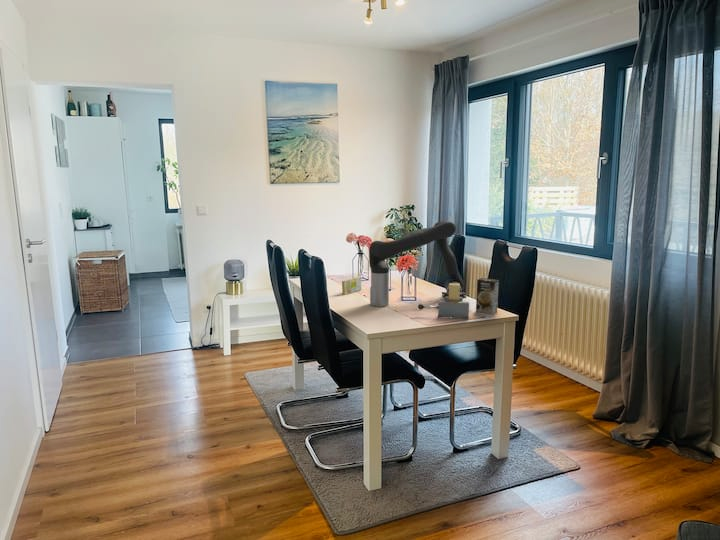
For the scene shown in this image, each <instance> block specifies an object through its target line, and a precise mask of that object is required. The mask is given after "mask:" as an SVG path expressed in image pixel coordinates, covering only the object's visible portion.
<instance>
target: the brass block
mask: <svg viewBox="0 0 720 540" xmlns="http://www.w3.org/2000/svg"><path fill="white" fill-rule="evenodd" d="M459 296H460V284H459V283H449V301H459Z"/></svg>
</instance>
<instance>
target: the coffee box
mask: <svg viewBox="0 0 720 540" xmlns="http://www.w3.org/2000/svg"><path fill="white" fill-rule="evenodd" d="M476 281H477V282H476V302H475V304H476V305H475V312H478V313H482V314H483V313H484V314H489V315H490V314H492V315H494V314H495V313H497V312H498V305H499V304H498V303H499V301H498V299H499V285H500V280H499V279H493V278H485V277H484V278H483V277H481V278H478V279H476Z"/></svg>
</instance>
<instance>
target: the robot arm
mask: <svg viewBox="0 0 720 540" xmlns="http://www.w3.org/2000/svg"><path fill="white" fill-rule="evenodd" d="M456 230H457V228H456V224H455V223H454V222H452V221H450V220H442V221H438V222H436V223H434V225H433V226H431V227H424V228H419V229H414V230H410V231H408V232H405V233H404V234H403V235H402V236H400V237H399V238H397V239H394V240H389V241H383V240H374V241H373V242H371V244H370V245H369V249H368V260H369V261H368V262H369V267H370V288H369V302H370V304H369V306H371V307H372V306H374V307H387V306H390V305H389V304H390V303H389V302H390V300H389V299H390V297H389V296H390V295H389V294H390V290H389V289H390V285H389V284H390V267H389V266H388V264H387V263H386V260H388V259H390V258H392V257H395V256H396V255H399V254H401V253H405V252H409V251H411V250H414V249H418V248H421V247H423V246H426V245H428V244H431V243H432V242H435V241H436V243H437V246H438V249H439V251H440V254H441V257H442V262H443V267H444V271H445V275H446V276H449V277H450V276H451V277H452V276H453V277H455V278H453V279H448V280H446V281H445V283H444V288H445V290H446V292H444V291H442V292H441V298H445V299H446V296H449V283H459V284H460V296H459V297H462V300H463V299H467V292H462V291H464V289H465V282H464V280H463V279H462V277H461V274H460V271H459V268H458V267H459V266H458V263H457V259H456V256H455V254H454V253H453V251H452V249H451V247H450V245H449V243H448V238H450V237H452V236H454V235H455V232H456Z"/></svg>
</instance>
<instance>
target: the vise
mask: <svg viewBox="0 0 720 540" xmlns="http://www.w3.org/2000/svg"><path fill="white" fill-rule="evenodd" d="M417 309H418V310H424V309H433V310H438V314H437V315H438V317H449V318H448V319H458V318H463V319H462V320H470V319H469V316H470V302H469V301H462V302H461V301H446V300H438V305H424V304H422V303H419V304H418V305H417ZM438 317H437V318H438ZM450 317H452V318H450Z"/></svg>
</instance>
